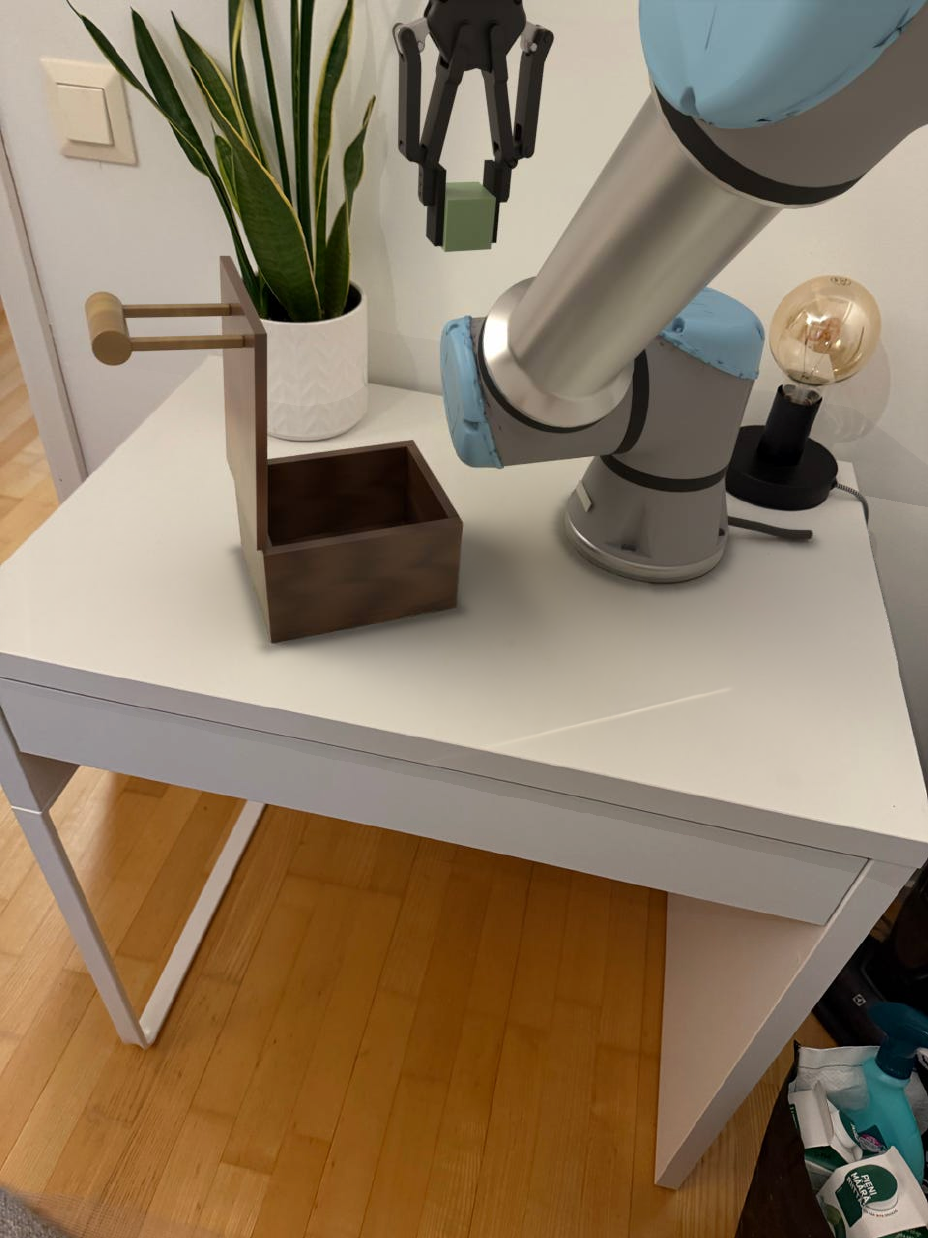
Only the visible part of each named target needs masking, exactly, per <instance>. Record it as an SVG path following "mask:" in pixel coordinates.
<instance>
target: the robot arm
mask: <svg viewBox="0 0 928 1238" xmlns="http://www.w3.org/2000/svg"><path fill="white" fill-rule="evenodd" d="M638 28H639V29H638V30H639V38H640V43H641V49H642V53H643V58H644V61H645V65H646V67H647V74H648V82H649V83H648V84H649V88H650V93H649V95H648V96H647V98H646V99H645V100H644V102H643V104H642V105H641V107H640V109H639V110H638V112H637V114H636V116H635V117H634V119H633V120H632V122H631V123H630V125H629V127H628V128H627V130H626V132H625V133H624V134H623V136H622V138H621V139H620V141H619V142H618V144H617V146H616V147H615V148H614V151H613V152H612V154H611V155H610V157H609V158H608V160H607V162H606V164H605V165H604V166H603V168H602V170H601V171H600V172H599V175H598V176H597V178H596V180H595V181H594V183H593V185H592V186H591V188H590V189H589V191H588V193H586V196H585V198H584V199H583V201H582V202H581V204H580V205H579V207H578V208H577V210H576V211H575V213H574V215H573V217H572V218H571V220H570V222H569V223H568V224H567V226H566V228H565V229H564V231H563V232H562V234H561V236H560V237H559V239H558V240H557V242H556V244H555V246H554V247H553V249H552V250H551V252H550V253H549V255H548V257H547V258H546V260H545V261H544V263H543V265H542V266H541V268H540V270H539V271H538V273H537V274H536V275H535V276H531V277H528V278H527V277H526V278H525V279H522V280H520V281H518V282H516V283H514V284H513V285H511V286H510V287H508V288H507V289H506V290H505V291H504V292H503V293H502V294H500V295H499V297H498V298H497V299H496V300H495V302H494V303H493V305H492V306H491V308H490V310H489V312H488V313H487V315H486V316H480V317H478V316H477V317H472V315H471V314H470V315H464V316H463V317H458V318H454V319H451V320H449V321H447V322H446V324H444V326H443V328H442V331H441V335H440V342H439V369H440V383H441V391H442V398H443V406H444V412H445V418H446V423H447V427H448V432H449V435H450V439H451V443H452V446H453V448H454V450H455V453H456V455H457V456H458V459H459V460H460V461H461V462H462V463H463V464H464V465H465V466H467V467H470V468H473V469H492V468H493V469H497V470H502V469H504V468H505V467H512V466H521V465H530V464H539V463H547V462H555V461H565V460H573V459H580V458H581V459H582V458H590V457H593V458H592V460H591V461H590V463H589V465H588V467H587V468H586V470H585V472H584V474H583V475H582V477H581V479H579V481H578V483H577V485H576V486H575V488H574V489H573V491H572V492H571V494H570V496H569V498H568V500H567V505H566V510H565V511H566V512H565V516H564V530H565V533H566V536H567V538H568V540H569V542H570V543H571V545H572V546H573V547H574V549H575V550H576V551H577V552H578V553H579V554H580V555H582V556H583V558H585V559H587V561H589V562H590V563H592V564H594V565H595V566H597V567H599V568H601V569H603V570H605V571H607V572H609V573H612V574H614V575H617V576H620V577H623V578H627V579H630V580H635V581H639V582H640V581H641V582H647V583H678V582H684V581H687V580H692V579H696V578H699V577H701V576H703V575H704V574H706V573H708V572H710V571H711V570H712V569H714V568H715V566H716V565H717V564H718V563H719V562H720V560H721V559H722V557H723V555H724V554H723V553H724V551H725V547H726V544H727V542H728V538H729V532H730V531H729V526H730V527H734V528H739V529H743V530H744V529H745V530H749V531H754V532H758V533H762V534H766V535H769V536H773V537H777V538H784V539H791V540H811V539H812V538H813V530H812V529H792V528H791V529H790V528H784V527H778V526H774V525H770V524H768V523H763V522H758V521H754V520H750V519H746V518H740V517H736V516H730V515H728V506H727V505H728V504H727V491H726V490H727V489H726V475H727V472H728V470H729V467H730V466H729V465H730V462H731V460H732V456H733V452H734V448H735V446H736V442H737V439H738V436H739V432H740V429H741V426H742V423H743V419H744V416H745V413H746V410H747V406H748V403H749V399H750V396H751V393H752V391H753V388H754V384H755V381H756V380H758V378H759V375H760V364H761V360H762V356H763V350H764V347H765V341H766V332H765V328H764V325H763V323H762V321H761V320H760V318H759V317H758V315H757V314H756V313H755V312H753V310H751V309H750V308H749V307H748V306H747V305H745V304H744V303H742V302H741V301H739V300H738V299H736V298H734V297H732V296H730V295H728V294H726V293H724V292H722V291H719V290H717V289H715V288H712V287H709V284H710V283H712V281H714V279H716V277H718V276H719V274H720V273H721V272H722V271H724V270H725V268H726V267H727V266H729V264H730V263H731V262H732V261H733V260H735V258H736V257H737V256H738V255H739V254H740V253H741V252H742V251H743V250H744V249H745V248H746V247H747V246H748V245H749V244H750V243H751V242H752V241H753V240H754V239H755V238H757V236H758V235H759V234H760V233H761V232H762V231H763V230H764V229H765V228H766V227H767V226H768V225H769V224H770V223H771V222H772V221H773V220H774V219H775V218H776V217H777V216H778V215H779V214H781V212H782V211H783V210H784V209H786V210H787V209H788V210H789V209H790V210H797V209H808V208H813V207H817V206H821V205H824V204H826V203H828V202H830V201H832V200H834V199H837V198H838V197H839V196H842V195H843V194H844V193H847V192H848V191H849V190H850V189H852V188H853V187H855V185H856V184H857V183H859V181H861V179H862V178H864V177H865V176H866V175H867V174H868V173H869V172H870V171H871V170H872V169H873V168H875V166H877V165H878V164H879V163H880V162H881V161H882V160H884V158H885V157H886V156H888V155H889V154H890V153H891V152H892V151H893V150H895V148H896V147H897V146H898V145H900V144H901V143H902V141H904V140H905V139H906V138H907V137H908V136H910V134H912V133H913V132H915V131H917V130H918V129H921V128H922V127H925V126H927V125H928V0H638ZM391 33H392V38H393V41H394V44H395V47H396V51H397V55H398V101H397V102H398V105H397V106H398V107H397V108H398V109H397V115H398V116H397V117H398V118H397V120H398V121H397V149H398V151H399V153H400V154H401V155H402V156H403V157H404V158H405V160H407V161H408V162H409V163H415V164H417V165H418V175H417V176H418V177H417V197H418V201H419V202H420V203H421V204H422V206H423V207H426V226H425V227H426V228H425V230H426V231H425V237H426V238H427V239H428V240H429V241H430V243H431V244H432V245H433V247H440V246H443V228H444V209H445V192H446V183H447V169H446V168H445V167H443V166H442V165H441V164H440V159H441V156H442V152H443V148H444V144H445V140H446V136H447V133H448V128H449V124H450V120H451V116H452V112H453V108H454V105H455V101H456V96H457V92H458V88H459V86H460V85H461V84H462V81H463V78H464V74H465V72H469V71H472V70H475V69H477V70H480V73H481V76H482V79H483V82H484V91H485V99H486V100H485V101H486V108H487V116H488V117H487V118H488V126H489V132H490V133H489V134H490V140H491V141H490V142H491V148H492V155H493V157H494V159H484V163H483V173H482V175H483V176H482V185H483V186H484V187H485V188H486V189H487V190H488V191H489V192H490V193H491V194H492V195H493V196H494V197H495V198H496V202H495V213H494V224H493V235H492V244H497V243H498V242H497V241H498V231H499V218H500V207H501V204H503V203H505V204H506V203H508V201H509V198H510V194H511V183H512V174H513V173H512V172H513V170H515V169H516V168H517V167H518V165H519V161H521V160H523V159H531V158H532V157H533V156H534V155H535V151H536V150H535V149H536V143H537V142H536V141H537V132H538V124H539V116H540V115H539V114H540V105H541V97H542V90H543V89H542V88H543V81H544V71H545V70H544V69H545V64H546V60H547V58H548V56H549V54H550V51H551V48H552V46H553V44H554V40H555V34H554V33H553V31H551V29H548V28H546V27H545V26H542V25H540V24H534V23H531V22H530V21H528V20H527V15H526V12H525V9H524V3H523V0H428V2H427V4H426V6H425V7H424V10H423V15H422V16H421V17H420V18H417V19H415V20H413V21H410V22H408V23H406V24H405V23H403V22H396V23H395V24H394V25H393V26H392V29H391ZM428 35H429V36H430V38H431V40H432V42H433V43H434V45H435V47H436V49H437V51H438V57H437V61H436V65H435V79H434V82H433V87H432V90H431V95H430V99H429V104H428V107H427V112H426V116H425V120H424V124H423V128H422V133H421V105H422V70H423V69H422V67H423V66H422V56H421V54H422V53H423V52H424V50H425V47H426V38H427V36H428ZM519 38H520V42H519V46H520V49H521V50H522V51H521V55H520V60H519V70H518V81H517V91H516V100H515V110H514V119H513V120H514V121H513V126H512V117H511V106H510V98H509V97H510V96H509V89H508V81H509V70H508V61H507V56H508V55H509V53H510V52H511V50H512V48H513V47H514V46H515V44H516V42H517V41H518V39H519Z"/></svg>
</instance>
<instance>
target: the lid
mask: <svg viewBox="0 0 928 1238" xmlns="http://www.w3.org/2000/svg"><path fill="white" fill-rule="evenodd" d="M219 280H220V283H219V284H220V302H218V303H217V302H216V303H215V302H213V303H209V302H208V303H152V304H151V303H150V304H149V303H146V304H143V303H142V304H139V303H138V304H123V303H122V301H121V300H120V299H119V298H118V297H117V296H116V295H115V294H113V293H111V292H108V291H96V292H94V293H92V294H91V295H89V296H88V297H87V299H86V300H85V303H84V311H85V317H86V322H87V323H86V324H87V329H88V335H89V341H90V347H91V352H92V354H93V357H95V358H96V360H97V361H99V362H100V363H102V364H104V365H106V366H111V367H115V366H120V365H123V364H125V363H126V362H128V360H129V359H131V356H132V355H133V354H132V353H134V352H162V351H163V352H165V351H195V350H196V351H197V350H198V351H199V350H222V370H223V371H222V372H223V392H224V393H223V395H224V396H223V397H224V398H223V399H224V425H225V451H226V453H225V454H226V455H225V456H226V461H227V464H228V467H229V471H230V474H231V476H232V479H233V483H235V486H236V489H237V492H238V495H239V498H240V501H241V504H242V507H243V510H244V513H245V516H246V519H247V522H248V525H249V528H250V531H251V534H252V537H253V540H254V543H255V546H256V549H257V551H259V550H267V549H268V484H267V459H268V333H267V331H266V329H265V326H264V324H263V322H262V320H261V318H260V316H259V314H258V311H257V309H256V307H255V306H254V303H253V301H252V299H251V295H249V292H248V289H247V288H246V286H245V283H244V282H243V280H242V278H241V274H240V273H239V271H238V269H237V267H236V264H235V262H234V260H233V258H232V256H231V255H219ZM200 317H201V318H203V317H205V318H207V317H209V318H210V317H221V334H209V335H205V334H204V335H168V336H132V337H131V336H130V330H129V326H128V323H127V322H128V321H127V319H153V318H155V319H156V318H200ZM235 486H234V487H235Z"/></svg>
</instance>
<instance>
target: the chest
mask: <svg viewBox="0 0 928 1238" xmlns="http://www.w3.org/2000/svg"><path fill="white" fill-rule="evenodd" d="M233 483H234V482H233ZM267 484H268V549H267V550H259V551H257V549H256V546H255V543H254V540H253V537H252V534H251V531H250V528H249V525H248V522H247V519H246V516H245V513H244V510H243V507H242V504H241V501H240V498H239V495H238V492H237V489H236V486H235V483H234V484H233V485H234V493H235V504H236V511H237V512H236V513H237V520H238V528H239V538H240V548H241V551H242V554H243V558H244V561H245V564H246V567H247V570H248V573H249V577H250V580H251V583H252V586H253V591H254V593H255V596H256V599H257V602H258V606H259V608H260V609H259V610H260V612H261V615H262V618H263V621H264V625H265V628H266V631H267V635H268V637H269V641H270V643H271V644H274V643H279V642H284V641H288V640H295V639H299V638H305V637H309V636H315V635H321V634H325V633H331V632H336V631H340V630H345V629H346V630H347V629H352V628H357V627H362V626H367V625H372V624H377V623H383V622H388V621H393V620H398V619H403V618H408V617H413V616H419V615H425V614H429V613H434V612H440V611H445V610H451V609H456V608H457V605H458V604H457V603H458V589H459V579H460V578H459V577H460V568H461V567H460V565H461V556H462V555H461V554H462V543H463V533H464V532H463V531H464V521H463V520H462V518H461V516H460V515H459V513H458V511H457V509H456V508H455V507H454V505H453V503H452V501H451V500H450V498H449V496H448V494H447V493H446V491H445V489H444V488H443V486H442V485H441V483H440V481H439V479H438V477H436V475H435V473H434V471H433V470H432V468H431V466H430V465H429V463H428V462H427V460H426V458H425V457H424V455H423V453H422V452H421V451H420V449H419V447H418V445H417V443H416V442H415V440H413V439H409V440H408V439H407V440H400V441H393V442H385V443H378V444H371V445H363V446H355V447H348V448H340V449H335V450H333V449H332V450H326V451H325V450H324V451H317V452H312V453H311V452H310V453H301V454H295V455H294V454H293V455H288V456H282V457H281V456H280V457H272V458H271V457H270V458H267Z"/></svg>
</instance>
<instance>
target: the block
mask: <svg viewBox="0 0 928 1238" xmlns="http://www.w3.org/2000/svg"><path fill="white" fill-rule="evenodd" d="M495 202H496V198H495V197H494V196H493V195H492V194H491V193H490V192H489V191H488V190H487V189H486V188H485V187H484V186H483V183H481V182H479V181H457V182H456V181H455V182H454V181H453V182H446V192H445V209H444V228H443V246H439V247H440V248H441V250H442V251H443V252H444V253H451V252H452V253H453V252H468V251H485V250H492V246H493V245H492V244H493V243H492V235H493V224H494V213H495Z"/></svg>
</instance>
